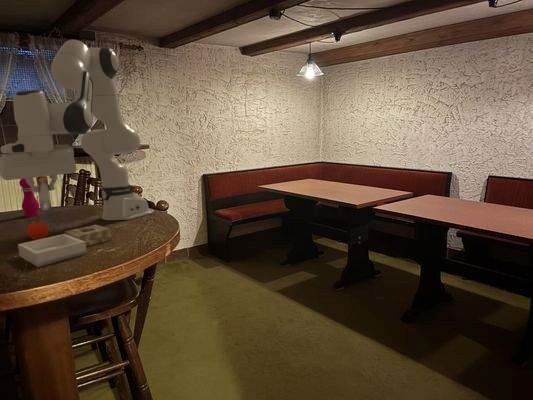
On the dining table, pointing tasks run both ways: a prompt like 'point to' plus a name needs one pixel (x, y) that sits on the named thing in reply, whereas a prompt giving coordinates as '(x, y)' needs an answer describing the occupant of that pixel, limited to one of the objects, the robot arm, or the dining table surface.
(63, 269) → the dining table surface
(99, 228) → the block
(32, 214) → the pepper mill
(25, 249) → the tray
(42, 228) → the clementine
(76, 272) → the dining table surface
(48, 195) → the pin
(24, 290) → the dining table surface
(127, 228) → the dining table surface
